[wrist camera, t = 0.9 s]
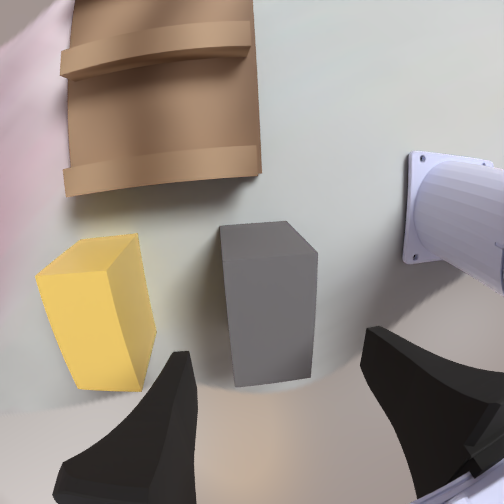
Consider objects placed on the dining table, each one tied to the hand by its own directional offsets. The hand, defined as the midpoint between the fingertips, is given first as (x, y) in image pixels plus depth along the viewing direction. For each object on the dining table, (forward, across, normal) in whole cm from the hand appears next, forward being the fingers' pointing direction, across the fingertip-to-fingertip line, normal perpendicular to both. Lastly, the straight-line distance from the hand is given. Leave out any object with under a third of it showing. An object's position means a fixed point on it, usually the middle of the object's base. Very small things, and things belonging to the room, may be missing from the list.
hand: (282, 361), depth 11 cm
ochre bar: (+8, +9, 0) cm, 12 cm away
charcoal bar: (+8, 0, 0) cm, 8 cm away
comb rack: (+8, +5, -14) cm, 17 cm away
